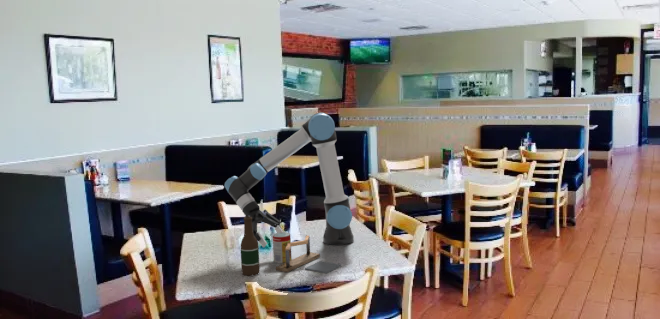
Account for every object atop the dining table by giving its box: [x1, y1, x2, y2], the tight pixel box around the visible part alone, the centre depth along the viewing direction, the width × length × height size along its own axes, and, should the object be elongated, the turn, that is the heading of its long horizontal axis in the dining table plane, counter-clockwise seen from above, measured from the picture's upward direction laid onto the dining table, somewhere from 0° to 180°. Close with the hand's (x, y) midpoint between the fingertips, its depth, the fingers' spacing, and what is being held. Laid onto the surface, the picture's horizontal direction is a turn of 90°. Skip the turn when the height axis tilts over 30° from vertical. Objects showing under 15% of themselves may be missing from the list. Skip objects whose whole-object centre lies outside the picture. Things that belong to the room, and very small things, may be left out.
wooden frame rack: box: [275, 235, 321, 273], centre depth 249 cm, size 24×6×10 cm, turn 146°
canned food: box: [272, 231, 293, 264], centre depth 254 cm, size 8×8×12 cm
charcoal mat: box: [304, 260, 342, 274], centre depth 242 cm, size 11×11×1 cm
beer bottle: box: [240, 216, 261, 277], centre depth 237 cm, size 8×8×24 cm
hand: (275, 241), depth 255 cm, fingers open, 13 cm apart
